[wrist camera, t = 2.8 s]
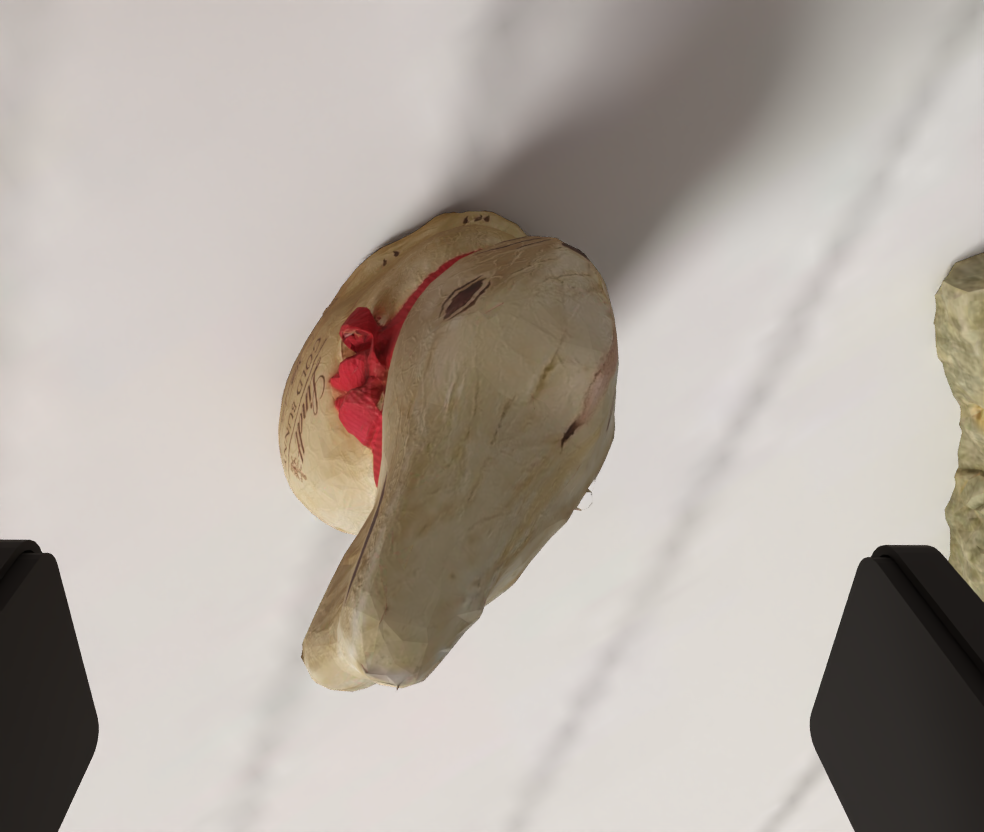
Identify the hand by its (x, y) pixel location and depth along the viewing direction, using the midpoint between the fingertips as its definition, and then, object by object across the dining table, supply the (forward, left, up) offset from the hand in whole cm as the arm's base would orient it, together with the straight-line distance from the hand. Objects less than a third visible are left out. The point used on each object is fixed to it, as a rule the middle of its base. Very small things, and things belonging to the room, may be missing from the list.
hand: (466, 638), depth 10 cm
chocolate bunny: (0, +1, -9) cm, 9 cm away
